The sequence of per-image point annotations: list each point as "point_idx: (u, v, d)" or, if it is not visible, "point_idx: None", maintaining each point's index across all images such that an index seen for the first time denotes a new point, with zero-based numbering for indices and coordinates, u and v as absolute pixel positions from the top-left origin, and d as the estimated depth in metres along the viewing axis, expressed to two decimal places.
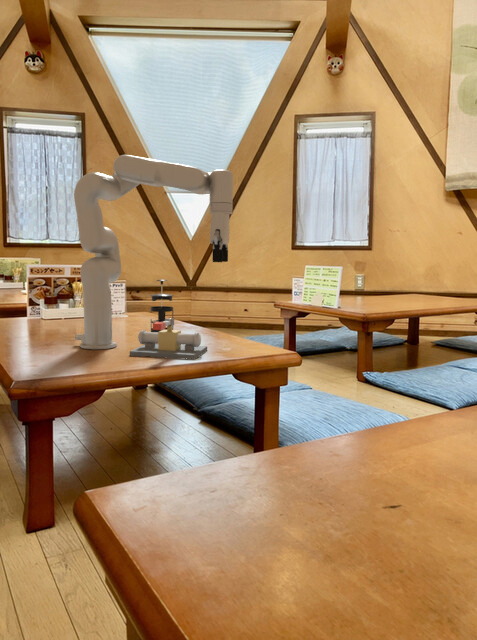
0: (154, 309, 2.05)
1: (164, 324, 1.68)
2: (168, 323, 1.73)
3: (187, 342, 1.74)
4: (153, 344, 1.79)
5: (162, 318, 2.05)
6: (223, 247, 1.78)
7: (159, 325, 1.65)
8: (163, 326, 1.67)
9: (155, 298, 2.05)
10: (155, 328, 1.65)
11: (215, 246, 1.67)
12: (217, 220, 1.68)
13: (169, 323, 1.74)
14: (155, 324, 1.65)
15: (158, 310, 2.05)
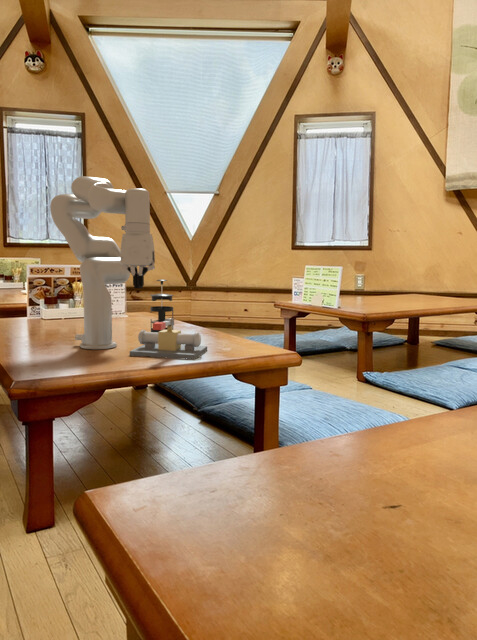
0: (154, 309, 2.05)
1: (164, 324, 1.68)
2: (168, 323, 1.73)
3: (187, 342, 1.74)
4: (153, 344, 1.79)
5: (162, 318, 2.05)
6: (135, 271, 1.66)
7: (159, 325, 1.65)
8: (163, 326, 1.67)
9: (155, 298, 2.05)
10: (155, 328, 1.65)
11: (144, 272, 1.65)
12: (152, 242, 1.64)
13: (169, 323, 1.74)
14: (155, 324, 1.65)
15: (158, 310, 2.05)
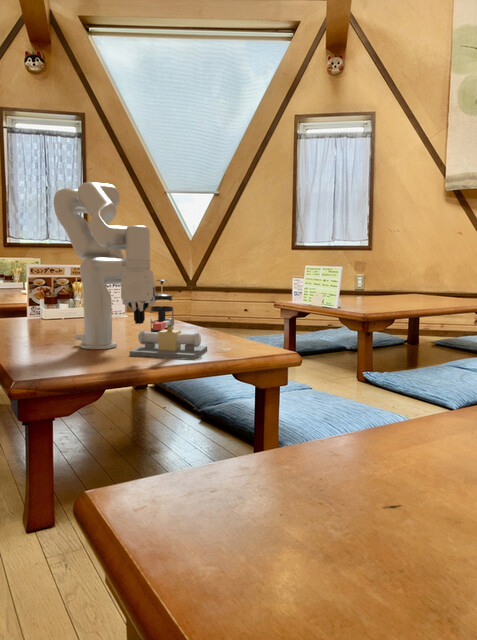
0: (154, 309, 2.05)
1: (164, 324, 1.68)
2: (168, 323, 1.73)
3: (187, 342, 1.74)
4: (153, 344, 1.79)
5: (162, 318, 2.05)
6: (136, 307, 1.67)
7: (159, 325, 1.65)
8: (163, 326, 1.67)
9: (155, 298, 2.05)
10: (155, 328, 1.65)
11: (145, 308, 1.66)
12: (152, 278, 1.65)
13: (169, 323, 1.74)
14: (155, 324, 1.65)
15: (158, 310, 2.05)
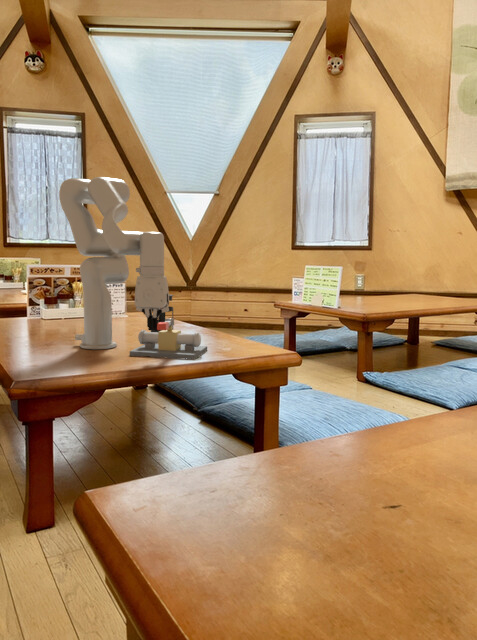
0: None
1: (168, 324, 1.68)
2: (169, 323, 1.73)
3: (187, 342, 1.74)
4: (153, 344, 1.79)
5: (162, 318, 2.05)
6: (149, 313, 1.67)
7: (164, 325, 1.65)
8: (167, 326, 1.67)
9: None
10: (160, 328, 1.65)
11: (159, 314, 1.66)
12: (166, 284, 1.64)
13: (170, 323, 1.74)
14: (159, 324, 1.65)
15: None
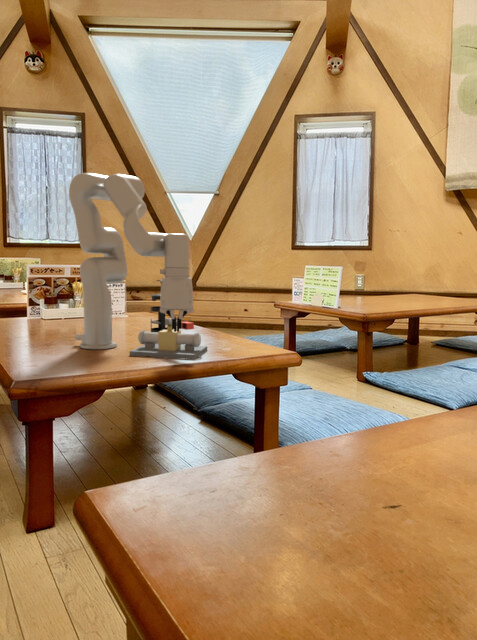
0: (154, 309, 2.05)
1: None
2: None
3: (187, 342, 1.74)
4: (153, 344, 1.79)
5: (162, 318, 2.05)
6: None
7: (192, 324, 1.68)
8: None
9: (155, 298, 2.05)
10: (189, 328, 1.67)
11: None
12: None
13: None
14: (188, 324, 1.67)
15: (158, 310, 2.05)
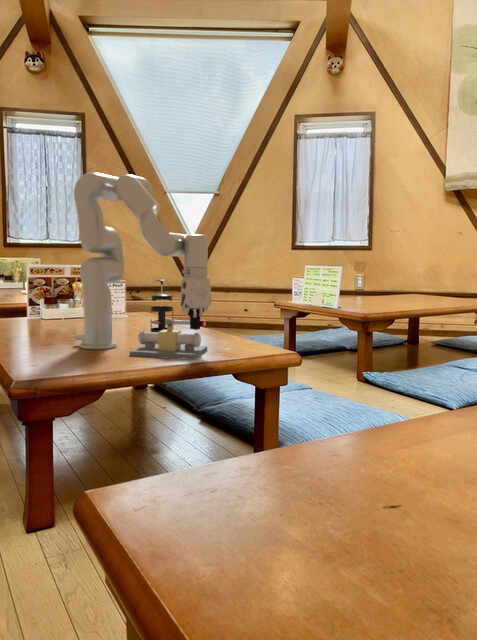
0: (154, 309, 2.05)
1: None
2: None
3: (187, 342, 1.74)
4: (153, 344, 1.79)
5: (162, 318, 2.05)
6: None
7: (205, 321, 1.76)
8: None
9: (155, 298, 2.05)
10: (204, 324, 1.75)
11: None
12: None
13: None
14: (204, 321, 1.75)
15: (158, 310, 2.05)
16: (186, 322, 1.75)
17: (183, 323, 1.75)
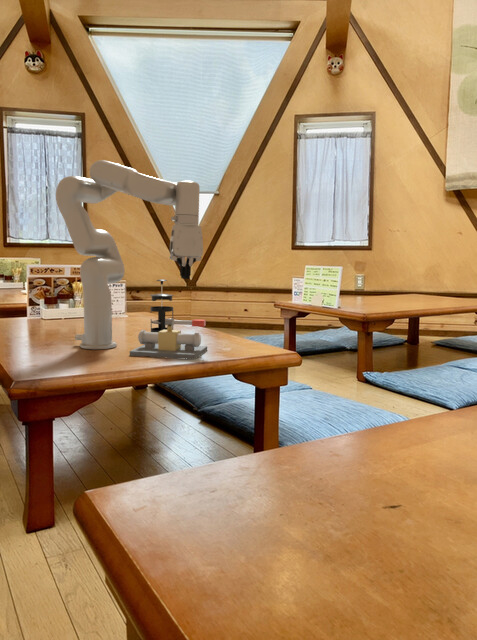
0: (154, 309, 2.05)
1: None
2: None
3: (187, 342, 1.74)
4: (153, 344, 1.79)
5: (162, 318, 2.05)
6: None
7: (205, 321, 1.76)
8: None
9: (155, 298, 2.05)
10: (204, 325, 1.75)
11: None
12: None
13: None
14: (204, 321, 1.74)
15: (158, 310, 2.05)
16: (186, 322, 1.75)
17: (183, 323, 1.75)
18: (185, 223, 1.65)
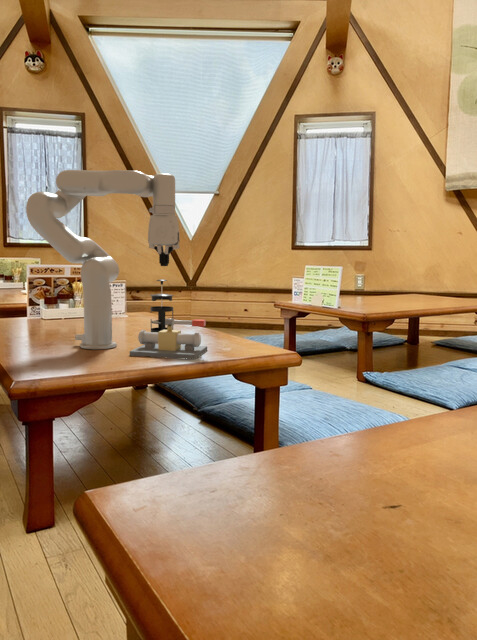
0: (154, 309, 2.05)
1: None
2: None
3: (187, 342, 1.74)
4: (153, 344, 1.79)
5: (162, 318, 2.05)
6: (161, 250, 1.80)
7: (205, 321, 1.76)
8: None
9: (155, 298, 2.05)
10: (204, 325, 1.75)
11: (170, 251, 1.79)
12: (177, 223, 1.78)
13: None
14: (204, 321, 1.74)
15: (158, 310, 2.05)
16: (186, 322, 1.75)
17: (183, 323, 1.75)
18: (155, 213, 1.76)
